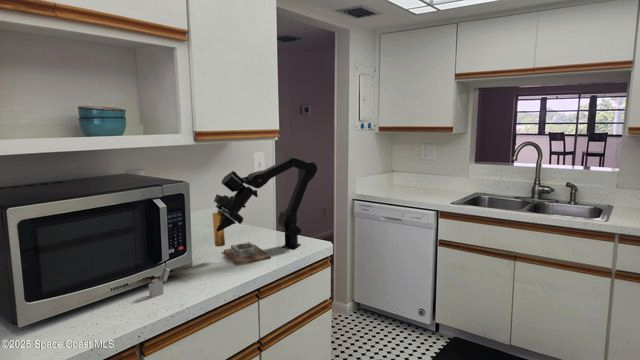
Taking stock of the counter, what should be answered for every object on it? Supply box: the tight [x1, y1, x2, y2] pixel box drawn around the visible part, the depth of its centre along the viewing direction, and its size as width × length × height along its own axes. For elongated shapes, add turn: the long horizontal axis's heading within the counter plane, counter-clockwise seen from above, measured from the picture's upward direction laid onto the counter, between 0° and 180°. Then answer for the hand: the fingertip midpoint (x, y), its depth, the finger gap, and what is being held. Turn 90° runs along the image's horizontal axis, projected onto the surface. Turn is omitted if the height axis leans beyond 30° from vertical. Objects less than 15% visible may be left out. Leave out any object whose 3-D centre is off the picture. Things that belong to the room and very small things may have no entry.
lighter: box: [148, 268, 170, 299], centre depth 132 cm, size 7×2×8 cm, turn 144°
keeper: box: [223, 241, 272, 266], centre depth 167 cm, size 14×18×4 cm
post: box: [212, 211, 226, 248], centre depth 160 cm, size 4×4×13 cm
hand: (215, 229), depth 159 cm, fingers closed on post, 4 cm apart
